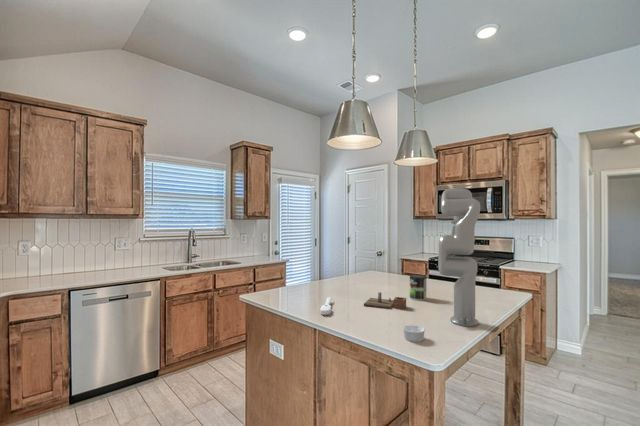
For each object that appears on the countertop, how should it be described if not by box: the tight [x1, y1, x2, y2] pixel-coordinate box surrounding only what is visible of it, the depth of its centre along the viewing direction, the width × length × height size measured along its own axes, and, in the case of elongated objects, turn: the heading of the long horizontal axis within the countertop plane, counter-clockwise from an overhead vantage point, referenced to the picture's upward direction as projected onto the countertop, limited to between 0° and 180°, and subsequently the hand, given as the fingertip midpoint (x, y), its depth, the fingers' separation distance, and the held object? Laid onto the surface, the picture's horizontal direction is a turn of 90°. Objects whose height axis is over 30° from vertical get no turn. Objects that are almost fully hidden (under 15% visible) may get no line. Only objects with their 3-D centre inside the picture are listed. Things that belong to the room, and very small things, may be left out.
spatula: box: [319, 296, 332, 316], centre depth 179 cm, size 28×6×3 cm, turn 173°
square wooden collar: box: [393, 296, 407, 310], centre depth 183 cm, size 10×6×5 cm, turn 157°
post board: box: [363, 291, 394, 310], centre depth 187 cm, size 15×15×7 cm
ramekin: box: [402, 324, 426, 343], centre depth 135 cm, size 9×9×4 cm
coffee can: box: [409, 273, 427, 301], centre depth 201 cm, size 10×10×14 cm
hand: (460, 251), depth 196 cm, fingers open, 9 cm apart
